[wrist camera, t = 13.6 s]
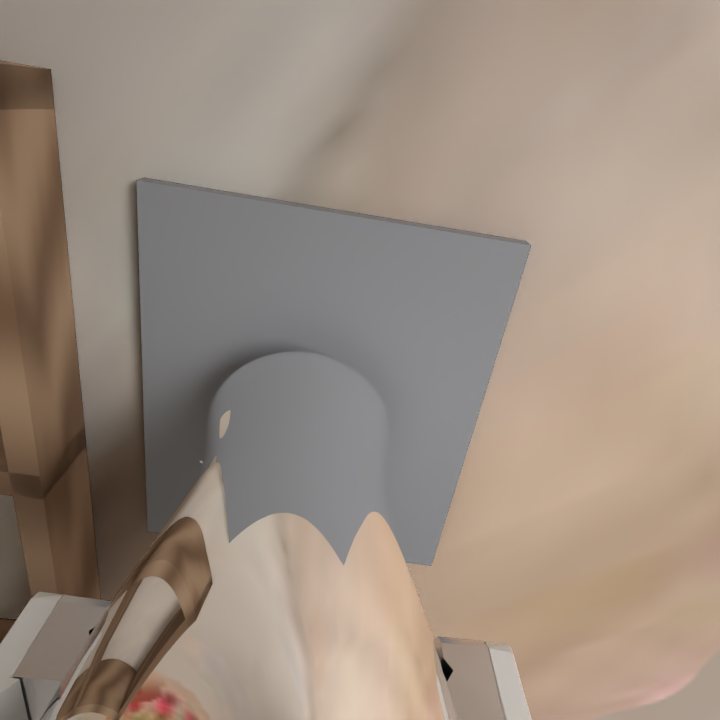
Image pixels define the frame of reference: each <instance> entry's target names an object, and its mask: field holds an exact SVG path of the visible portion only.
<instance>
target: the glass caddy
mask: <svg viewBox="0 0 720 720" xmlns="http://www.w3.org/2000/svg"><path fill="white" fill-rule="evenodd" d="M0 494H2V495H11V496H13V499H14V504H15V510H16V515H17V521H18V526H19V532H20V537H21V543H22V548H23V554H24V559H25V565H26V570H27V576H28V581H29V587H30V592H31V598H32V597H33V596H35V595H36V594H37V593H38V592H46V593H56V594H65V595H70V596H78V597H86V598H94V599H101V598H100V588H99V577H98V566H97V556H96V545H95V535H94V524H93V513H92V503H91V492H90V481H89V471H88V460H87V450H86V439H85V428H84V418H83V407H82V396H81V386H80V375H79V365H78V354H77V343H76V333H75V322H74V311H73V301H72V290H71V279H70V269H69V258H68V248H67V237H66V226H65V216H64V205H63V194H62V184H61V173H60V163H59V152H58V141H57V131H56V120H55V109H54V99H53V88H52V78H51V69H45V68H40V67H34V66H28V65H23V64H17V63H12V62H6V61H0ZM14 622H15V620H5V619H0V643H1V642H2V640H3V639H4V637H5V636H6V634H7V633H8V631H9V630H10V628H11V627H12V625H13V624H14Z"/></svg>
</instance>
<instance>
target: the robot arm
mask: <svg viewBox="0 0 720 720" xmlns="http://www.w3.org/2000/svg"><path fill="white" fill-rule="evenodd" d="M111 602H112V601H110V600H102V599H94V598H86V597H78V596H70V595H65V594H56V593H46V592H38V593H37V594H36V595H35V596H33V597H32V598H31V599H30V600H29V602H28V603H27V605H26V606H25V608H24V609H23V611H22V612H21V614H20V615H19V617H18V618H17V620H16V621H15V622H14V624H13V625H12V627H11V628H10V630H9V631H8V633H7V634H6V636H5V637H4V639H3V640H2V642H1V643H0V720H40V719H41V717H42V715H43V713H44V711H45V709H46V707H47V705H48V703H49V701H50V699H51V698H52V696H53V694H54V692H55V690H56V689H57V687H58V685H59V684H60V682H61V681H62V679H63V677H64V676H65V674H66V673H67V671H68V669H69V668H70V666H71V665H72V663H73V661H74V660H75V658H76V657H77V655H78V653H79V652H80V650H81V649H82V647H83V645H84V644H85V642H86V641H87V639H88V637H89V636H90V634H91V633H92V631H93V629H94V628H95V626H96V625H97V623H98V621H99V620H100V618H101V617H102V615H103V613H104V612H105V610H106V609H107V607H108V606H109V604H110V603H111ZM434 641H435V645H436V648H437V651H438V654H439V658H440V661H441V664H442V668H443V671H444V674H445V678H446V681H447V684H448V687H449V691H450V694H451V697H452V701H453V704H454V707H455V711H456V714H457V718H458V720H532V719H531V716H530V712H529V709H528V705H527V701H526V698H525V694H524V691H523V687H522V683H521V680H520V676H519V673H518V669H517V665H516V662H515V658H514V655H513V651H512V649H511V648H510V646H509V645H508V644H504V643H492V642H483V641H481V640H470V639H459V638H448V637H437V638H435V639H434Z"/></svg>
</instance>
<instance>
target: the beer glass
mask: <svg viewBox="0 0 720 720" xmlns="http://www.w3.org/2000/svg"><path fill="white" fill-rule="evenodd" d="M389 433H390V429H389V419H388V414H387V411H386V408H385V405H384V403H383V401H382V399H381V397H380V396H379V394H378V393H377V391H376V390H375V388H374V387H373V386H372V384H371V383H370V382H369V381H368V380H367V379H366V378H365V377H364V376H363V375H361V374H360V373H359V372H358V371H356V370H355V369H353V368H352V367H350V366H349V365H347V364H345V363H343V362H341V361H339V360H337V359H334V358H331V357H328V356H325V355H321V354H317V353H311V352H300V351H291V352H280V353H274V354H270V355H266V356H263V357H260V358H257V359H255V360H253V361H251V362H249V363H247V364H245V365H243V366H242V367H240V368H239V369H237V370H236V371H235V372H233V373H232V374H231V375H230V376H229V377H228V378H227V379H226V380H225V381H224V382H223V383H222V384H221V386H220V387H219V388H218V390H217V391H216V393H215V394H214V396H213V398H212V401H211V403H210V406H209V409H208V412H207V416H206V422H205V432H204V444H203V453H202V458H201V461H200V465H199V468H198V471H197V474H196V476H195V478H194V480H193V482H192V484H191V486H190V488H189V490H188V492H187V493H186V495H185V496H184V498H183V499H182V501H181V502H180V504H179V506H178V507H177V509H176V510H175V512H174V513H173V515H172V516H171V518H170V519H169V520H168V522H167V523H166V525H165V526H164V527H163V529H162V530H161V532H160V533H159V534H158V536H157V537H156V539H155V540H154V541H153V543H152V544H151V546H150V547H149V548H148V550H147V551H146V553H145V554H144V555H143V557H142V558H141V560H140V561H139V563H138V564H137V566H136V567H135V568H134V570H133V571H132V573H131V574H130V576H129V577H128V578H127V580H126V581H125V583H124V584H123V586H122V587H121V589H120V590H119V591H118V593H117V594H116V596H115V597H114V599H113V600H112V602H111V603H110V604H109V606H108V607H107V609H106V610H105V612H104V613H103V615H102V617H101V618H100V620H99V621H98V623H97V625H96V626H95V628H94V629H93V631H92V633H91V634H90V636H89V637H88V639H87V641H86V642H85V644H84V645H83V647H82V649H81V650H80V652H79V653H78V655H77V657H76V658H75V660H74V661H73V663H72V665H71V666H70V668H69V669H68V671H67V673H66V674H65V676H64V677H63V679H62V681H61V682H60V684H59V685H58V687H57V689H56V690H55V692H54V694H53V696H52V698H51V699H50V701H49V703H48V705H47V707H46V709H45V711H44V713H43V715H42V717H41V719H40V720H458V718H457V714H456V711H455V707H454V704H453V701H452V697H451V694H450V691H449V687H448V684H447V681H446V678H445V674H444V671H443V668H442V664H441V661H440V658H439V654H438V651H437V648H436V645H435V641H434V638H433V635H432V632H431V629H430V626H429V624H428V621H427V618H426V615H425V613H424V610H423V607H422V604H421V601H420V599H419V596H418V593H417V590H416V587H415V585H414V582H413V579H412V576H411V574H410V571H409V568H408V566H407V563H406V560H405V558H404V555H403V552H402V550H401V547H400V544H399V542H398V539H397V536H396V533H395V530H394V527H393V524H392V521H391V518H390V515H389V512H388V509H387V504H386V499H385V494H384V484H383V475H384V468H385V462H386V457H387V452H388V446H389Z"/></svg>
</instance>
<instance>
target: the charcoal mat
mask: <svg viewBox="0 0 720 720" xmlns="http://www.w3.org/2000/svg"><path fill="white" fill-rule="evenodd" d="M136 185H137V216H138V248H139V279H140V310H141V342H142V373H143V405H144V436H145V468H146V499H147V531H148V532H154V533H160V532H161V530H162V529H163V527H164V526H165V525H166V523H167V522H168V520H169V519H170V518H171V516H172V515H173V513H174V512H175V510H176V509H177V507H178V506H179V504H180V502H181V501H182V499H183V498H184V496H185V495H186V493H187V492H188V490H189V488H190V486H191V484H192V482H193V480H194V478H195V476H196V474H197V471H198V468H199V465H200V461H201V458H202V453H203V444H204V432H205V422H206V416H207V412H208V409H209V406H210V403H211V401H212V398H213V396H214V394H215V393H216V391H217V390H218V388H219V387H220V386H221V384H222V383H223V382H224V381H225V380H226V379H227V378H228V377H229V376H230V375H231V374H232V373H233V372H235V371H236V370H237V369H239V368H240V367H242V366H243V365H245V364H247V363H249V362H251V361H253V360H255V359H257V358H260V357H263V356H266V355H270V354H274V353H280V352H291V351H300V352H311V353H317V354H321V355H325V356H328V357H331V358H334V359H337V360H339V361H341V362H343V363H345V364H347V365H349V366H350V367H352V368H353V369H355V370H356V371H358V372H359V373H360V374H361V375H363V376H364V377H365V378H366V379H367V380H368V381H369V382H370V383H371V384H372V386H373V387H374V388H375V390H376V391H377V393H378V394H379V396H380V397H381V399H382V401H383V403H384V405H385V408H386V411H387V414H388V419H389V429H390V433H389V446H388V452H387V457H386V462H385V468H384V475H383V484H384V494H385V499H386V504H387V509H388V512H389V515H390V518H391V521H392V524H393V527H394V530H395V533H396V536H397V539H398V542H399V544H400V547H401V550H402V552H403V555H404V558H405V560H406V563H412V564H421V565H429V566H431V565H432V562H433V559H434V556H435V553H436V549H437V546H438V543H439V540H440V536H441V533H442V530H443V527H444V524H445V520H446V517H447V514H448V511H449V508H450V504H451V501H452V498H453V495H454V492H455V488H456V485H457V482H458V479H459V476H460V472H461V469H462V466H463V463H464V460H465V456H466V453H467V450H468V447H469V444H470V440H471V437H472V434H473V431H474V428H475V424H476V421H477V418H478V415H479V412H480V408H481V405H482V402H483V399H484V396H485V392H486V389H487V386H488V383H489V380H490V376H491V373H492V370H493V367H494V364H495V360H496V357H497V354H498V351H499V348H500V344H501V341H502V338H503V335H504V331H505V328H506V325H507V322H508V319H509V315H510V312H511V309H512V306H513V303H514V299H515V296H516V293H517V290H518V287H519V283H520V280H521V277H522V274H523V271H524V267H525V264H526V261H527V258H528V255H529V251H530V248H531V245H530V244H529V243H528V242H526V241H523V240H517V239H511V238H505V237H499V236H493V235H487V234H481V233H475V232H468V231H462V230H456V229H450V228H444V227H438V226H432V225H426V224H420V223H414V222H408V221H402V220H396V219H390V218H384V217H378V216H372V215H366V214H360V213H354V212H348V211H342V210H336V209H330V208H324V207H318V206H312V205H306V204H299V203H293V202H287V201H281V200H275V199H269V198H263V197H257V196H251V195H245V194H239V193H233V192H227V191H221V190H215V189H209V188H203V187H197V186H191V185H185V184H179V183H173V182H167V181H161V180H155V179H149V178H142V179H139V180H136Z"/></svg>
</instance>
